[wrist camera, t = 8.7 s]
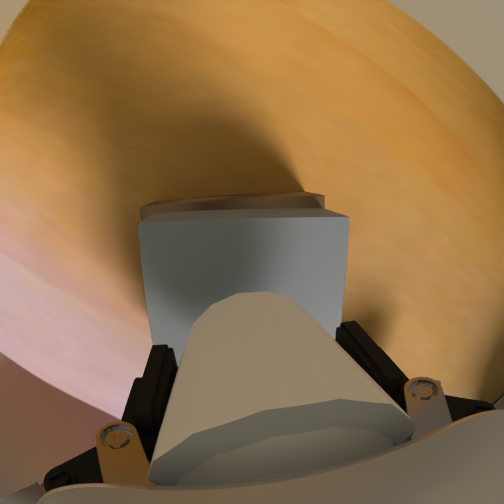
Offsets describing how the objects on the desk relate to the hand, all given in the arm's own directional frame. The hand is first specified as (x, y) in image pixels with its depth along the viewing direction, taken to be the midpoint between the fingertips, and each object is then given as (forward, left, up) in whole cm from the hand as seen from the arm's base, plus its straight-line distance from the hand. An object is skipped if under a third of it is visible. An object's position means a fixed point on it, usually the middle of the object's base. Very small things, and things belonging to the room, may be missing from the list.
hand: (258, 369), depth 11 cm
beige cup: (0, 0, -1) cm, 1 cm away
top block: (0, 0, -8) cm, 8 cm away
